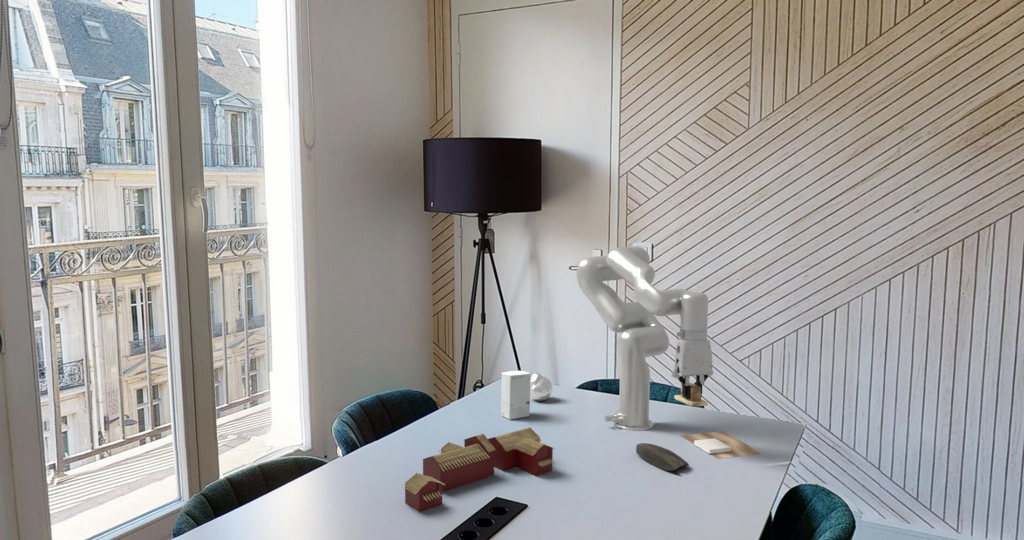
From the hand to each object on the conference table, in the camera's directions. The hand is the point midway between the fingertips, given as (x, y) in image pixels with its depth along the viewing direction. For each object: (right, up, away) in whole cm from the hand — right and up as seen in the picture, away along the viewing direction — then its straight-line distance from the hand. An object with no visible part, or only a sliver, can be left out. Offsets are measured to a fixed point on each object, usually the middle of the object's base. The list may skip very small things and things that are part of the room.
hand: (692, 397), depth 207 cm
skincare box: (-51, -12, +31) cm, 61 cm away
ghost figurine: (-43, -10, +49) cm, 66 cm away
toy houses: (-62, -18, -23) cm, 69 cm away
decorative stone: (-12, -17, -11) cm, 23 cm away
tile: (+5, -14, +3) cm, 15 cm away
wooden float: (0, -2, +1) cm, 2 cm away
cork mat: (+9, -15, +3) cm, 18 cm away
